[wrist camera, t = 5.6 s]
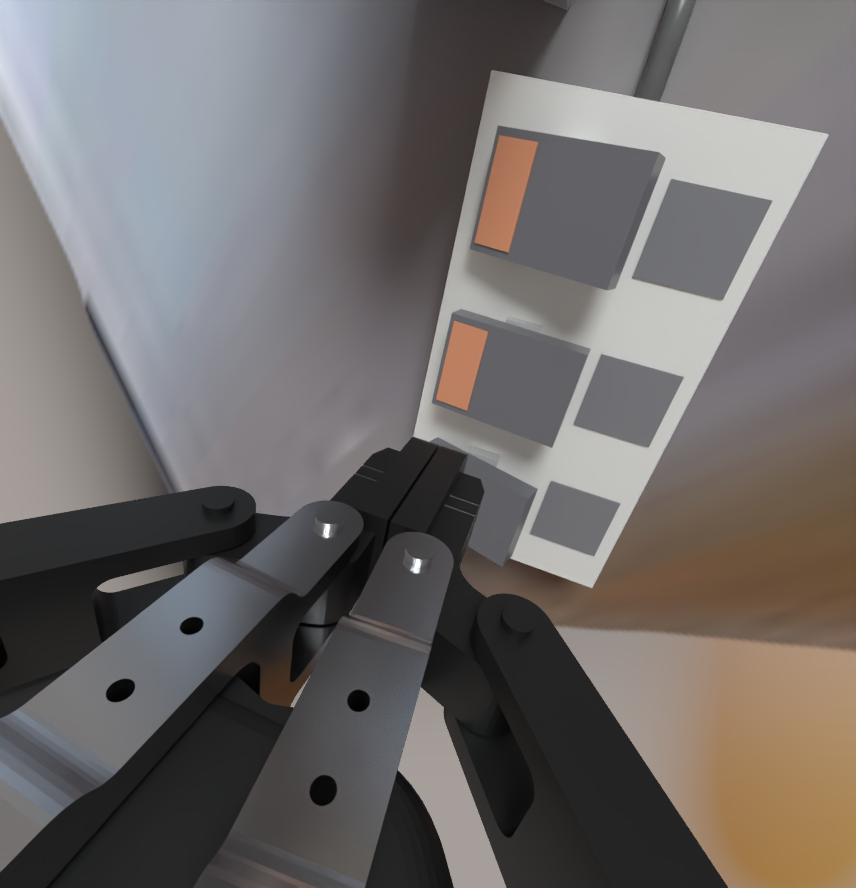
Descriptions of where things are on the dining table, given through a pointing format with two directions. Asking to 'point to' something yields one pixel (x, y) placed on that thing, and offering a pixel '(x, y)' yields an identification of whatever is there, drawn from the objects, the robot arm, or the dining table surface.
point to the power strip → (620, 295)
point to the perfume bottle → (560, 3)
